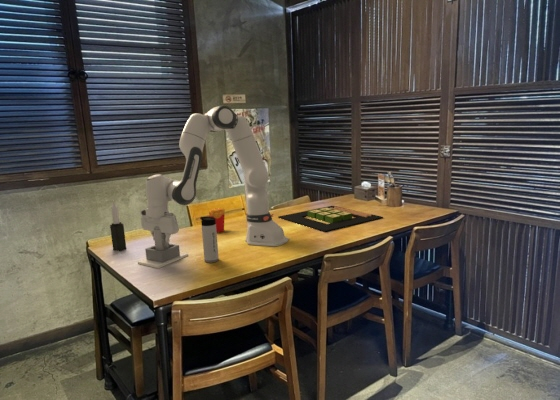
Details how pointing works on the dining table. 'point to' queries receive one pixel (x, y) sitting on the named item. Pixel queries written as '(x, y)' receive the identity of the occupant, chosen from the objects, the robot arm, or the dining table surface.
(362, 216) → the sushi set
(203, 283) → the dining table surface
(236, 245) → the dining table surface
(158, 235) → the energy drink can
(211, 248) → the travel mug
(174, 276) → the dining table surface
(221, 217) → the french fries
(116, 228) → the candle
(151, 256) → the housing
